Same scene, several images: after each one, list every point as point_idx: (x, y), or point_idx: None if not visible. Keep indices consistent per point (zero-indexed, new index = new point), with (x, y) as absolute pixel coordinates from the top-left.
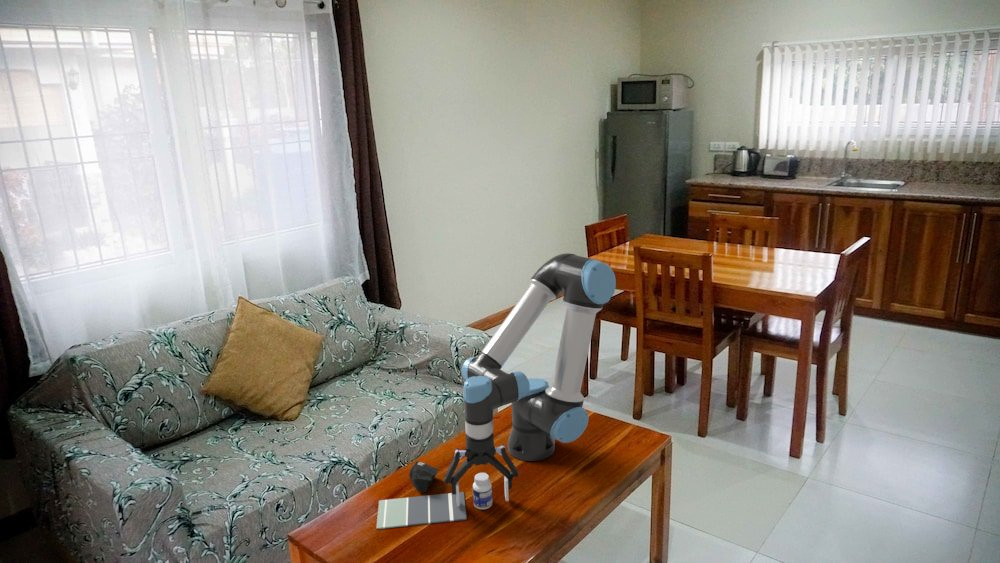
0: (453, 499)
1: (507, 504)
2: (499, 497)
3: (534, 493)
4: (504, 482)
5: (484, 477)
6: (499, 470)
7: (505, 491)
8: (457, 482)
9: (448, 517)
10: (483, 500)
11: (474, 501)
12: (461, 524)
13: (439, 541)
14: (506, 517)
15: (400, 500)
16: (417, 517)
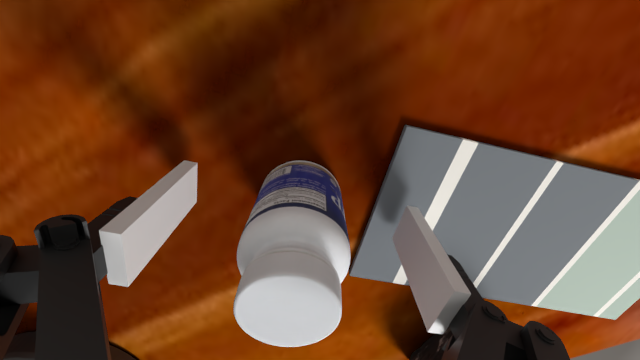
0: None
1: (198, 155)
2: (224, 208)
3: (66, 181)
4: (156, 245)
5: (269, 302)
6: (93, 334)
7: (173, 194)
8: (443, 314)
9: (474, 161)
10: (307, 181)
11: (342, 203)
12: (440, 100)
13: (603, 11)
14: (220, 64)
15: (561, 301)
16: (577, 206)
